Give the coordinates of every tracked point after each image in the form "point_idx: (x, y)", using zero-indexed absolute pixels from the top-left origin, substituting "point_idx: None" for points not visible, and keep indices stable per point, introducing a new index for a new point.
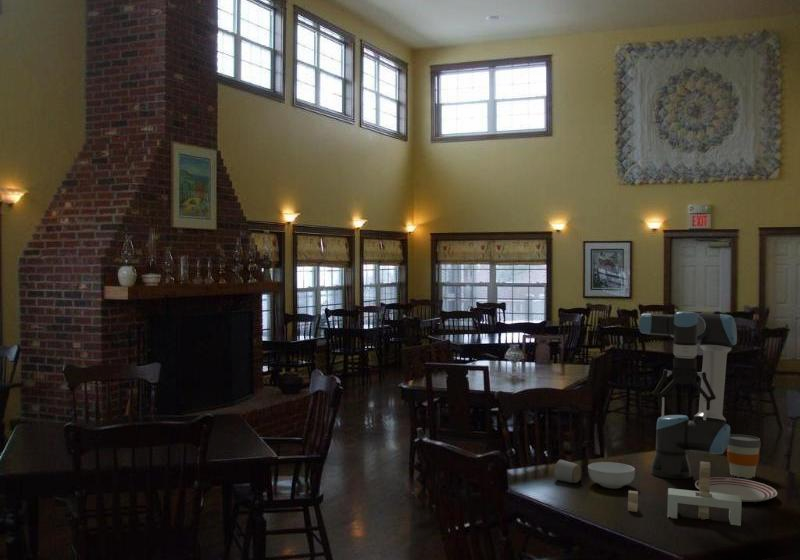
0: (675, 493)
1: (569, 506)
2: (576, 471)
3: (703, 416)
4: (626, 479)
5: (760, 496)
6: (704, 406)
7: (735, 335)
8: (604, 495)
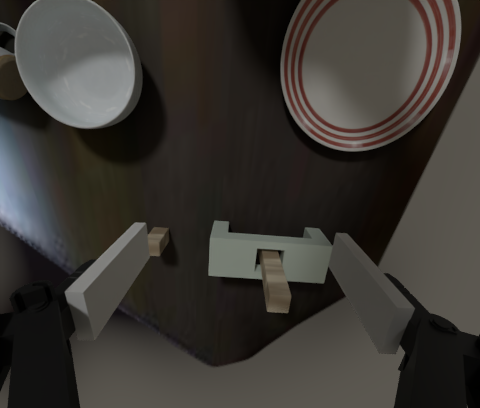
0: (221, 267)
1: (68, 245)
2: (6, 86)
3: (337, 257)
4: (128, 114)
5: (408, 78)
6: (362, 320)
7: None
8: (105, 162)
